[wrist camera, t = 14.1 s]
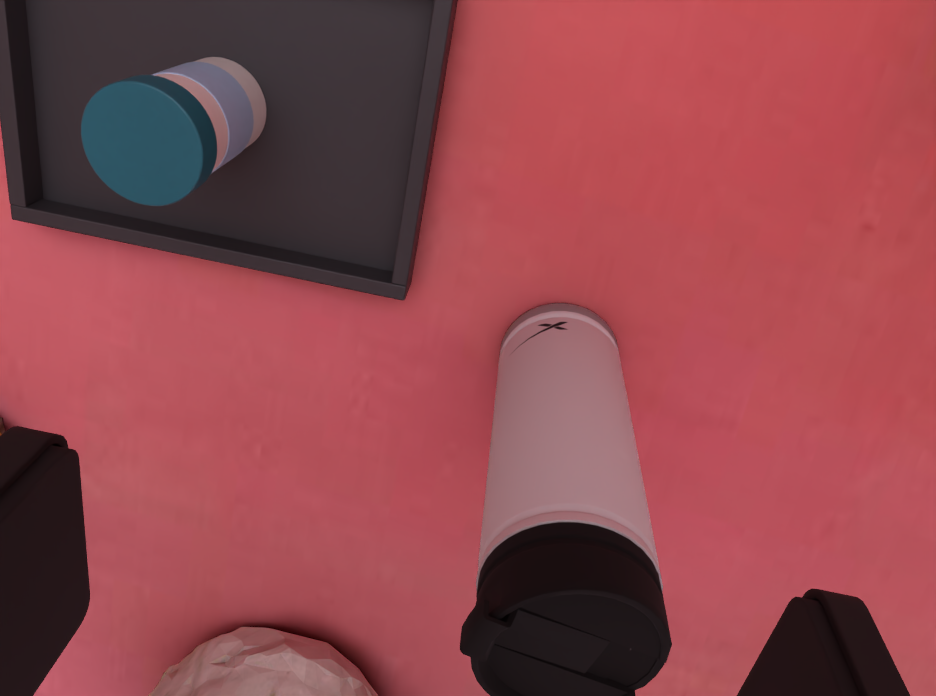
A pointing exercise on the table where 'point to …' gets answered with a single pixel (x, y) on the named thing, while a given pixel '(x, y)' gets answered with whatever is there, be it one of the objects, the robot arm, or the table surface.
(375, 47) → the desk tray
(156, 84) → the pill bottle
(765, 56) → the table surface
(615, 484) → the travel mug
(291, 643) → the ceramic vessel
